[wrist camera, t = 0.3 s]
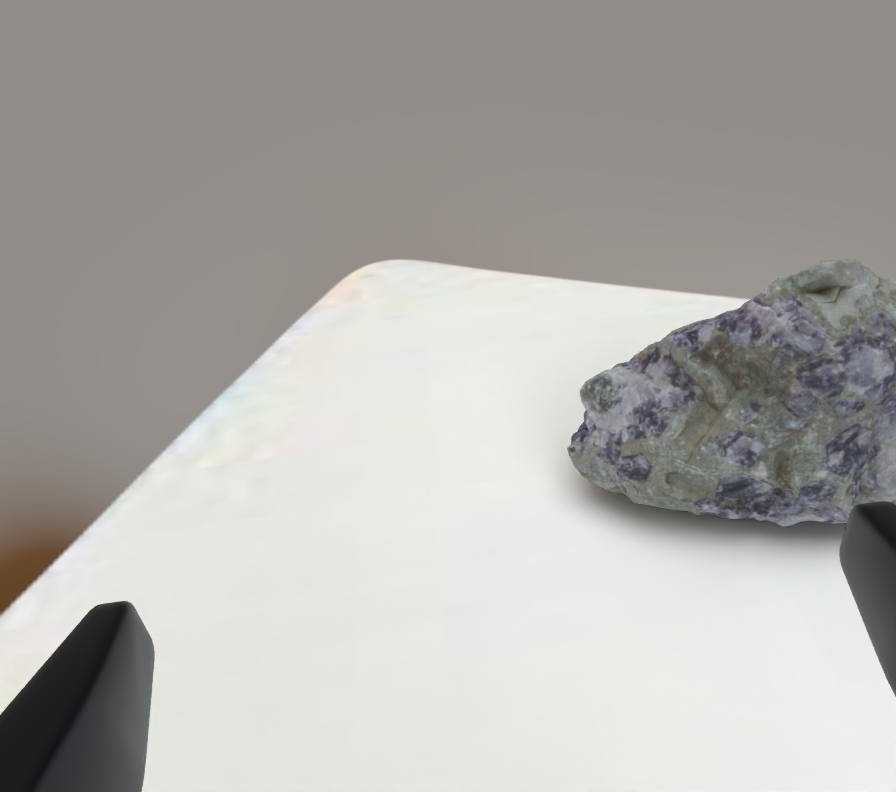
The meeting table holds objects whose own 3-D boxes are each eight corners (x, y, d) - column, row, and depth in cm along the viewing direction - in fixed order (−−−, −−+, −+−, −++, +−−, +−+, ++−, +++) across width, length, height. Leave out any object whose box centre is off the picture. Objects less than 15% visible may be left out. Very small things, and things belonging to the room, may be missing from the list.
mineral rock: (557, 500, 33) (553, 293, 27) (654, 361, 40) (668, 169, 34) (901, 627, 27) (998, 397, 21) (947, 437, 34) (1031, 220, 28)
